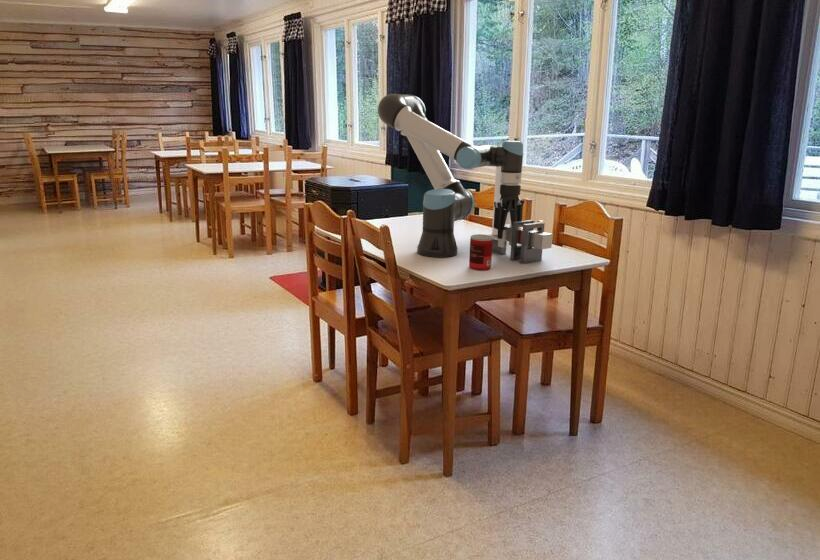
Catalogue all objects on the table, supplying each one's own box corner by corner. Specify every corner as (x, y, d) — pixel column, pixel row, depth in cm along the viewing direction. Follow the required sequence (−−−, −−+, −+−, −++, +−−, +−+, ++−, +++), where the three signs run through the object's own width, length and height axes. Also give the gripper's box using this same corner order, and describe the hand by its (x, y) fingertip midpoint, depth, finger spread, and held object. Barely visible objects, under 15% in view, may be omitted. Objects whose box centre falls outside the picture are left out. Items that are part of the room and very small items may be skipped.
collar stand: (523, 263, 220) (526, 225, 216) (510, 260, 225) (512, 222, 222) (545, 259, 227) (549, 222, 223) (532, 256, 232) (535, 219, 228)
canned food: (489, 265, 217) (491, 234, 214) (492, 271, 210) (494, 239, 207) (467, 264, 217) (469, 234, 214) (470, 270, 209) (472, 238, 206)
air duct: (497, 238, 232) (498, 225, 231) (507, 236, 235) (508, 223, 234) (541, 249, 215) (542, 235, 214) (551, 247, 218) (552, 233, 217)
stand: (501, 254, 234) (502, 241, 232) (481, 248, 242) (482, 236, 241) (505, 253, 235) (506, 240, 234) (486, 248, 244) (486, 235, 242)
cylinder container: (515, 237, 266) (520, 166, 258) (493, 236, 266) (497, 165, 258) (512, 232, 275) (516, 164, 267) (490, 232, 275) (495, 163, 267)
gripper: (499, 186, 218) (496, 250, 225) (535, 183, 229) (530, 245, 235) (485, 184, 224) (481, 246, 230) (520, 181, 234) (516, 241, 241)
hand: (506, 246), depth 233 cm, fingers closed on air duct, 5 cm apart
